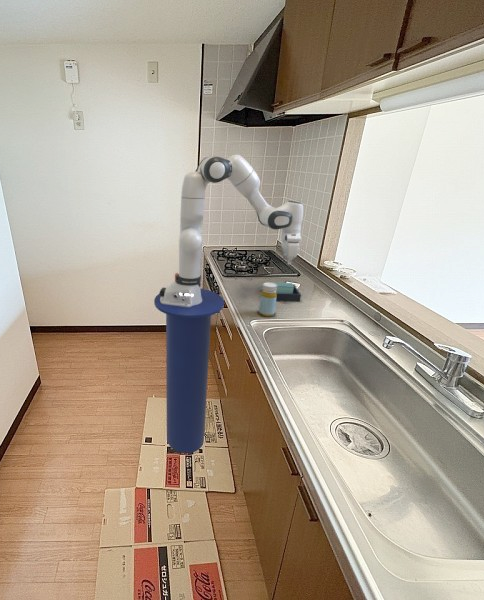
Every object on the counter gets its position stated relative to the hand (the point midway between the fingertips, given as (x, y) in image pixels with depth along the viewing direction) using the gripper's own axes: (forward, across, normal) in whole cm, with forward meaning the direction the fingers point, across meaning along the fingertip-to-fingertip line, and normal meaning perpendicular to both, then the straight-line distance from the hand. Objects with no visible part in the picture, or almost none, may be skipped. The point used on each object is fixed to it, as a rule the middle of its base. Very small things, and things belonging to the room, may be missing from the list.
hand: (286, 261), depth 168 cm
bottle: (+20, +23, -12) cm, 32 cm away
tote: (+20, -1, 0) cm, 20 cm away
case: (+19, -1, 0) cm, 19 cm away
